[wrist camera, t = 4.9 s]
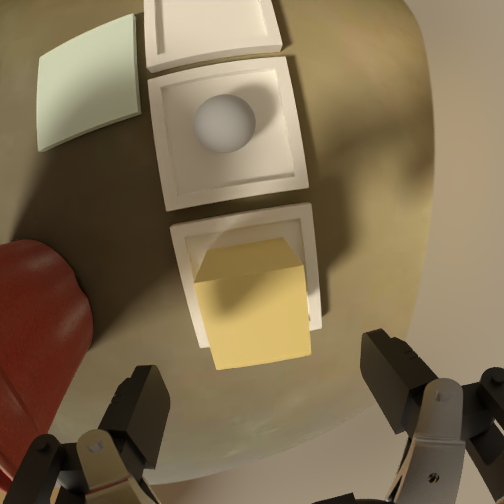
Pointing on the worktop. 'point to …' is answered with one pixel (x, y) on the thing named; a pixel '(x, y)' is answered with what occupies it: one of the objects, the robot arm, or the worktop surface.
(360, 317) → the worktop surface
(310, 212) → the dish
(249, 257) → the letter block
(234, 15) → the dish
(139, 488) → the robot arm
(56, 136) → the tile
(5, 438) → the flower pot
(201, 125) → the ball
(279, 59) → the dish
